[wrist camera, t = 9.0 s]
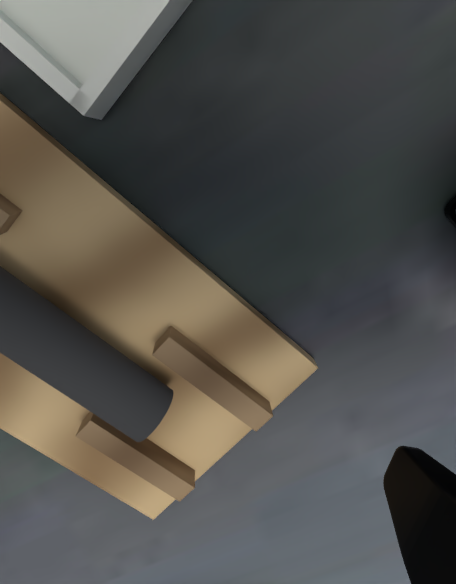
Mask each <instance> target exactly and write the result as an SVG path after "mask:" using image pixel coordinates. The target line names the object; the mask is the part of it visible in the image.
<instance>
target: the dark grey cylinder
mask: <svg viewBox="0 0 456 584" xmlns="http://www.w3.org/2000/svg"><path fill="white" fill-rule="evenodd" d="M0 353H1V354H3V355H4V356H6V357H7V358H9V359H11V360H12V361H14V362H15V363H17V364H18V365H20V366H21V367H23V368H24V369H26V370H27V371H29V372H30V373H32V374H33V375H35V376H37V377H38V378H40V379H41V380H43V381H44V382H46V383H47V384H49V385H50V386H52V387H53V388H55V389H56V390H58V391H60V392H61V393H63V394H64V395H66V396H67V397H69V398H70V399H72V400H73V401H75V402H76V403H78V404H79V405H81V406H82V407H84V408H86V409H87V410H89V411H90V412H92V413H93V414H95V415H96V416H98V417H99V418H101V419H102V420H104V421H105V422H107V423H109V424H110V425H112V426H113V427H115V428H116V429H118V430H119V431H121V432H122V433H124V434H125V435H127V436H128V437H130V438H131V439H133V440H135V441H136V442H141V441H143V440H145V439H146V438H147V437H148V436H149V435H150V434H151V433H152V432H153V431H154V430H155V429H156V428H157V426H158V425H159V424H160V422H161V421H162V419H163V418H164V416H165V415H166V413H167V411H168V409H169V407H170V405H171V402H172V399H173V390H172V389H171V388H169V387H168V386H167V385H165V384H164V383H162V382H161V381H160V380H158V379H157V378H155V377H154V376H153V375H151V374H150V373H148V372H147V371H146V370H144V369H143V368H142V367H140V366H139V365H137V364H136V363H135V362H133V361H132V360H130V359H129V358H128V357H126V356H125V355H123V354H122V353H121V352H119V351H118V350H116V349H115V348H114V347H112V346H111V345H109V344H108V343H107V342H105V341H104V340H103V339H101V338H100V337H98V336H97V335H96V334H94V333H93V332H91V331H90V330H89V329H87V328H86V327H84V326H83V325H82V324H80V323H79V322H77V321H76V320H75V319H73V318H72V317H70V316H69V315H68V314H66V313H65V312H64V311H62V310H61V309H59V308H58V307H57V306H55V305H54V304H52V303H51V302H50V301H48V300H47V299H45V298H44V297H43V296H41V295H40V294H38V293H37V292H36V291H34V290H33V289H31V288H30V287H29V286H27V285H26V284H25V283H23V282H22V281H20V280H19V279H18V278H16V277H15V276H13V275H12V274H11V273H9V272H8V271H6V270H5V269H4V268H2V267H1V266H0Z"/></svg>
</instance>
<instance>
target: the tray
mask: <svg viewBox="0 0 456 584" xmlns="http://www.w3.org/2000/svg"><path fill="white" fill-rule="evenodd" d="M192 1H193V0H0V42H1V43H2V44H3V45H4V46H5V47H6V48H7V49H9V50H10V51H11V52H12V53H13V54H14V55H15V56H16V57H18V58H19V59H20V60H21V61H22V62H23V63H24V64H26V65H27V66H28V67H29V68H30V69H31V70H32V71H33V72H35V73H36V74H37V75H38V76H39V77H40V78H41V79H42V80H44V81H45V82H46V83H47V84H48V85H49V86H50V87H51V88H53V89H54V90H55V91H56V92H57V93H58V94H59V95H61V96H62V97H63V98H64V99H65V100H66V101H67V102H68V103H70V104H71V105H72V106H73V107H74V108H75V109H76V110H77V111H79V112H80V113H81V114H82V115H83V116H86V117H91V118H95V119H100V120H102V119H103V118H104V116H105V115H106V114H107V112H108V111H109V110H110V108H111V107H112V106H113V104H114V103H115V102H116V100H117V99H118V98H119V96H120V95H121V94H122V93H123V91H124V90H125V89H126V87H127V86H128V85H129V83H130V82H131V81H132V79H133V78H134V77H135V75H136V74H137V73H138V71H139V70H140V69H141V68H142V66H143V65H144V64H145V62H146V61H147V60H148V58H149V57H150V56H151V54H152V53H153V52H154V50H155V49H156V48H157V47H158V45H159V44H160V43H161V41H162V40H163V39H164V37H165V36H166V35H167V33H168V32H169V31H170V29H171V28H172V27H173V25H174V24H175V23H176V22H177V20H178V19H179V18H180V16H181V15H182V14H183V12H184V11H185V10H186V8H187V7H188V6H189V4H190V3H191V2H192Z"/></svg>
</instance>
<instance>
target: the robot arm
mask: <svg viewBox="0 0 456 584" xmlns="http://www.w3.org/2000/svg"><path fill="white" fill-rule="evenodd" d="M455 209H456V196H455V197H454V198H453V199H452V200H451V201H450V202H449V203H448V204H447V205H446V208H445V215H446V217H447V218H448V219H449V220H450V221H451V223H452V224H453V225H454V226H455V227H456V214H455ZM383 483H384V490H385V494H386V498H387V501H388V505H389V509H390V513H391V517H392V520H393V524H394V528H395V532H396V535H397V539H398V543H399V547H400V550H401V554H402V557H403V561H404V564H405V567H406V570H407V573H408V576H409V579H410V581H411V584H456V474H454V473H453V472H451V471H450V470H449V469H447V468H446V467H445V466H443V465H442V464H440V463H439V462H438V461H436V460H435V459H433V458H432V457H431V456H429V455H428V454H426V453H425V452H424V451H422V450H421V449H418V448H414V447H407V446H400V447H398V448H397V449H396V451H395V453H394V455H393V457H392V459H391V462H390V464H389V466H388V468H387V471H386V473H385V475H384V482H383Z"/></svg>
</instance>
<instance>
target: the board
mask: <svg viewBox="0 0 456 584" xmlns="http://www.w3.org/2000/svg"><path fill="white" fill-rule="evenodd" d="M0 266H1V267H2V268H4V269H5V270H6V271H8V272H9V273H11V274H12V275H13V276H15V277H16V278H18V279H19V280H20V281H22V282H23V283H25V284H26V285H27V286H29V287H30V288H31V289H33V290H34V291H36V292H37V293H38V294H40V295H41V296H43V297H44V298H45V299H47V300H48V301H50V302H51V303H52V304H54V305H55V306H57V307H58V308H59V309H61V310H62V311H64V312H65V313H66V314H68V315H69V316H70V317H72V318H73V319H75V320H76V321H77V322H79V323H80V324H82V325H83V326H84V327H86V328H87V329H89V330H90V331H91V332H93V333H94V334H96V335H97V336H98V337H100V338H101V339H103V340H104V341H105V342H107V343H108V344H109V345H111V346H112V347H114V348H115V349H116V350H118V351H119V352H121V353H122V354H123V355H125V356H126V357H128V358H129V359H130V360H132V361H133V362H135V363H136V364H137V365H139V366H140V367H142V368H143V369H144V370H146V371H147V372H148V373H150V374H151V375H153V376H154V377H155V378H157V379H158V380H160V381H161V382H162V383H164V384H165V385H167V386H168V387H169V388H171V389H172V390H173V399H172V402H171V405H170V407H169V409H168V411H167V413H166V415H165V416H164V418H163V419H162V421H161V422H160V424H159V425H158V426H157V428H156V429H155V430H154V431H153V432H152V433H151V434H150V435H149V436H148V437H147V438H146V439H145V440H143V441H141V442H136V441H135V440H133V439H131V438H130V437H128V436H127V435H125V434H124V433H122V432H121V431H119V430H118V429H116V428H115V427H113V426H112V425H110V424H109V423H107V422H105V421H104V420H102V419H101V418H99V417H98V416H96V415H95V414H93V413H92V412H90V411H89V410H87V409H86V408H84V407H82V406H81V405H79V404H78V403H76V402H75V401H73V400H72V399H70V398H69V397H67V396H66V395H64V394H63V393H61V392H60V391H58V390H56V389H55V388H53V387H52V386H50V385H49V384H47V383H46V382H44V381H43V380H41V379H40V378H38V377H37V376H35V375H33V374H32V373H30V372H29V371H27V370H26V369H24V368H23V367H21V366H20V365H18V364H17V363H15V362H14V361H12V360H11V359H9V358H7V357H6V356H4V355H3V354H1V353H0V428H1V429H2V430H4V431H6V432H7V433H9V434H11V435H12V436H14V437H16V438H17V439H19V440H21V441H22V442H24V443H26V444H27V445H29V446H31V447H32V448H34V449H36V450H38V451H39V452H41V453H43V454H44V455H46V456H48V457H49V458H51V459H53V460H54V461H56V462H58V463H59V464H61V465H63V466H64V467H66V468H68V469H69V470H71V471H73V472H74V473H76V474H78V475H79V476H81V477H83V478H84V479H86V480H88V481H89V482H91V483H93V484H94V485H96V486H98V487H99V488H101V489H103V490H105V491H106V492H108V493H110V494H111V495H113V496H115V497H116V498H118V499H120V500H121V501H123V502H125V503H126V504H128V505H130V506H131V507H133V508H135V509H136V510H138V511H140V512H141V513H143V514H145V515H146V516H148V517H150V518H151V519H153V520H154V519H155V518H156V517H157V516H158V515H159V514H160V513H161V512H162V511H163V510H164V509H165V508H167V507H168V506H169V505H170V504H171V503H172V502H173V501H174V500H175V499H176V500H178V501H179V502H180V501H181V500H182V499H183V498H184V497H185V496H186V495H187V494H188V493H190V492H191V491H192V490H193V489H194V488H195V481H196V480H197V479H198V478H199V477H200V476H201V475H202V474H204V473H205V472H206V471H207V470H208V469H209V468H210V467H211V466H212V465H213V464H214V463H216V462H217V461H218V460H219V459H220V458H221V457H222V456H223V455H224V454H225V453H226V452H227V451H229V450H230V449H231V448H232V447H233V446H234V445H235V444H236V443H237V442H238V441H239V440H241V439H242V438H243V437H244V436H245V435H246V434H247V433H248V432H249V431H250V430H251V429H253V430H255V431H257V430H258V429H260V428H261V427H262V426H263V425H264V424H265V423H266V422H267V421H268V420H269V419H270V418H272V417H273V414H272V410H273V409H274V408H275V407H276V406H278V405H279V404H280V403H281V402H282V401H283V400H284V399H285V398H286V397H287V396H288V395H289V394H291V393H292V392H293V391H294V390H295V389H296V388H297V387H298V386H299V385H300V384H301V383H303V382H304V381H305V380H306V379H307V378H308V377H309V376H310V375H311V374H312V373H313V372H314V371H316V370H317V369H318V366H317V365H316V363H315V361H314V359H313V357H311V356H310V355H309V354H308V353H307V352H305V351H304V350H303V349H302V348H301V347H300V346H298V345H297V344H296V343H295V342H294V341H292V340H291V339H290V338H289V337H288V336H287V335H285V334H284V333H283V332H282V331H281V330H280V329H278V328H277V327H276V326H275V325H274V324H272V323H271V322H270V321H269V320H268V319H267V318H265V317H264V316H263V315H262V314H261V313H259V312H258V311H257V310H256V309H255V308H254V307H252V306H251V305H250V304H249V303H248V302H246V301H245V300H244V299H243V298H242V297H241V296H239V295H238V294H237V293H236V292H235V291H234V290H232V289H231V288H230V287H229V286H228V285H226V284H225V283H224V282H223V281H222V280H221V279H219V278H218V277H217V276H216V275H215V274H213V273H212V272H211V271H210V270H209V269H208V268H206V267H205V266H204V265H203V264H202V263H200V262H199V261H198V260H197V259H196V258H195V257H193V256H192V255H191V254H190V253H189V252H188V251H186V250H185V249H184V248H183V247H182V246H180V245H179V244H178V243H177V242H176V241H175V240H173V239H172V238H171V237H170V236H169V235H167V234H166V233H165V232H164V231H163V230H162V229H160V228H159V227H158V226H157V225H156V224H154V223H153V222H152V221H151V220H150V219H149V218H147V217H146V216H145V215H144V214H143V213H142V212H140V211H139V210H138V209H137V208H136V207H134V206H133V205H132V204H131V203H130V202H129V201H127V200H126V199H125V198H124V197H123V196H121V195H120V194H119V193H118V192H117V191H116V190H114V189H113V188H112V187H111V186H110V185H108V184H107V183H106V182H105V181H104V180H103V179H101V178H100V177H99V176H98V175H97V174H96V173H94V172H93V171H92V170H91V169H90V168H88V167H87V166H86V165H85V164H84V163H83V162H81V161H80V160H79V159H78V158H77V157H75V156H74V155H73V154H72V153H71V152H70V151H68V150H67V149H66V148H65V147H64V146H62V145H61V144H60V143H59V142H58V141H57V140H55V139H54V138H53V137H52V136H51V135H49V134H48V133H47V132H46V131H45V130H44V129H42V128H41V127H40V126H39V125H38V124H37V123H35V122H34V121H33V120H32V119H31V118H29V117H28V116H27V115H26V114H25V113H24V112H22V111H21V110H20V109H19V108H18V107H16V106H15V105H14V104H13V103H12V102H11V101H9V100H8V99H7V98H6V97H5V96H3V95H2V94H1V93H0Z"/></svg>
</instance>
